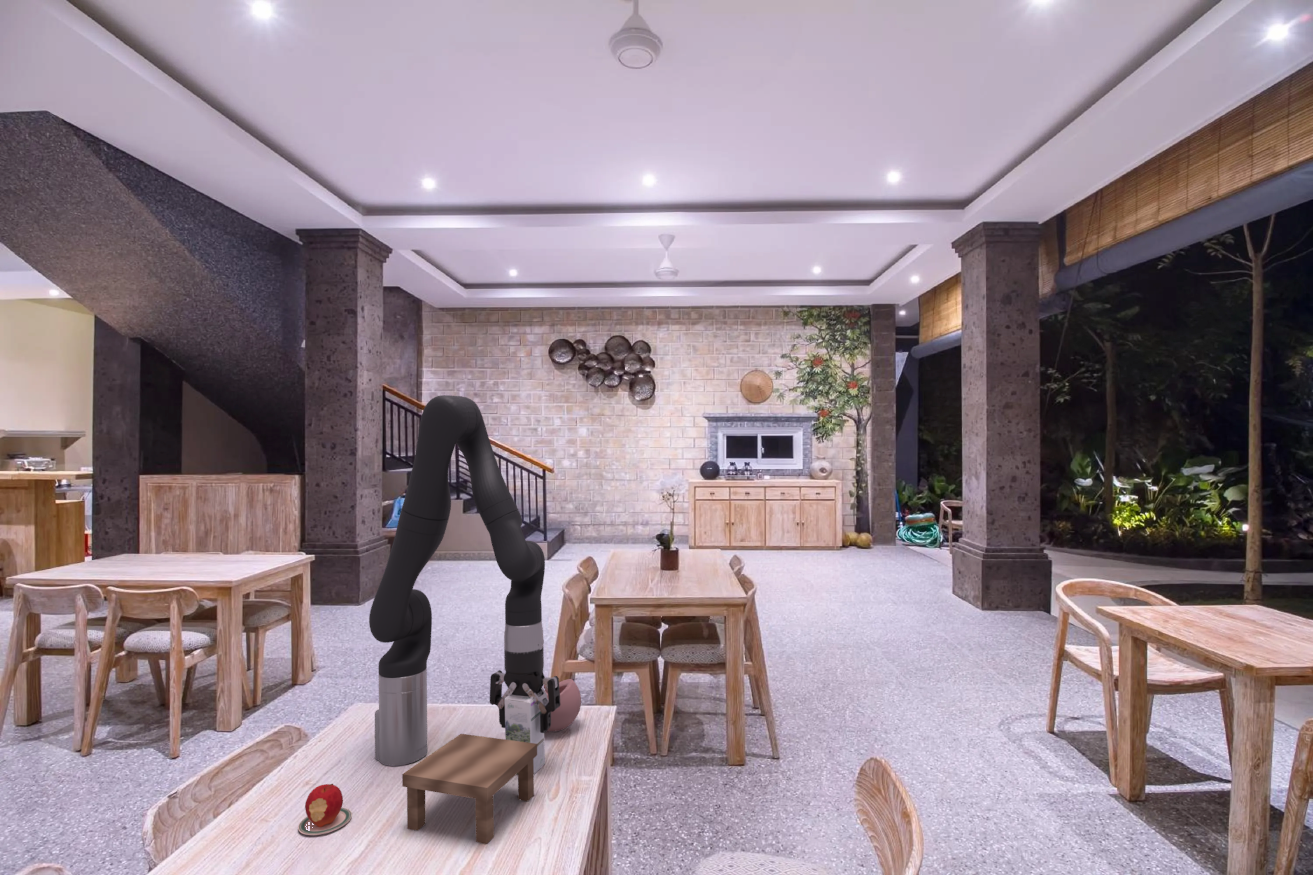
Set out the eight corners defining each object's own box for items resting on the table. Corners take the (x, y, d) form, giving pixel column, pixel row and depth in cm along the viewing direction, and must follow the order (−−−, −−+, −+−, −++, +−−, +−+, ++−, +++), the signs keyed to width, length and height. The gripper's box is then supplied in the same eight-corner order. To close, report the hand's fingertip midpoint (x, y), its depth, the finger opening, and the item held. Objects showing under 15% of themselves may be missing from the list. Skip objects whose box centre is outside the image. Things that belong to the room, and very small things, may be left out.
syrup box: (546, 763, 127) (545, 689, 128) (530, 778, 122) (529, 700, 122) (520, 759, 129) (519, 686, 129) (504, 773, 123) (503, 697, 124)
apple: (358, 824, 107) (358, 784, 108) (305, 844, 102) (304, 802, 102) (343, 805, 113) (343, 767, 114) (292, 823, 108) (292, 783, 108)
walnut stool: (402, 829, 105) (402, 773, 106) (461, 782, 120) (460, 733, 121) (487, 846, 100) (487, 787, 101) (537, 794, 115) (537, 743, 116)
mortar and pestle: (531, 719, 149) (530, 669, 149) (583, 717, 150) (582, 667, 150) (522, 742, 137) (522, 687, 137) (579, 739, 138) (578, 685, 138)
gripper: (481, 647, 125) (482, 732, 124) (547, 653, 120) (548, 741, 120) (502, 637, 132) (503, 717, 131) (565, 642, 127) (566, 725, 127)
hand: (525, 728), depth 125 cm, fingers open, 8 cm apart
